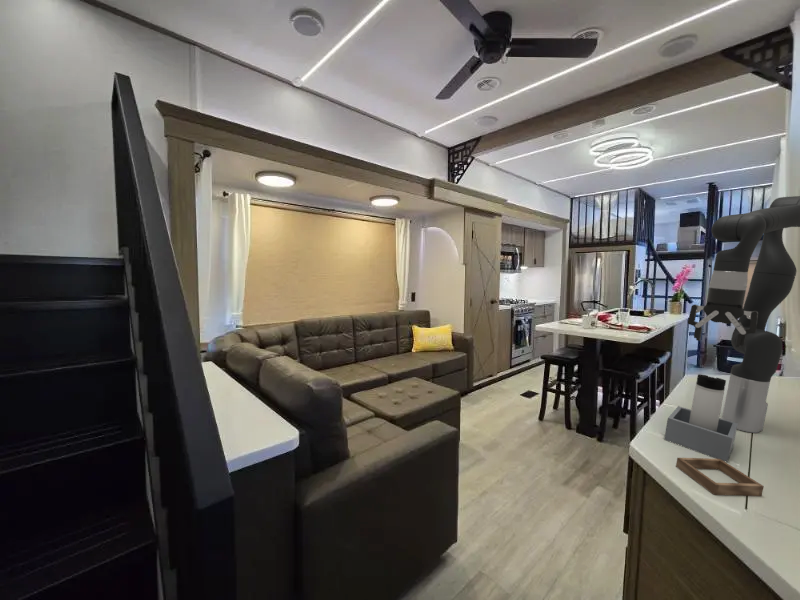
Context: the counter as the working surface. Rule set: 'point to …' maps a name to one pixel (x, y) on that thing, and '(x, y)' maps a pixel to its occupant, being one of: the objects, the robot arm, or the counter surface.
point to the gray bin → (701, 435)
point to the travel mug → (707, 402)
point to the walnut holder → (744, 484)
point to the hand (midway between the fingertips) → (717, 343)
